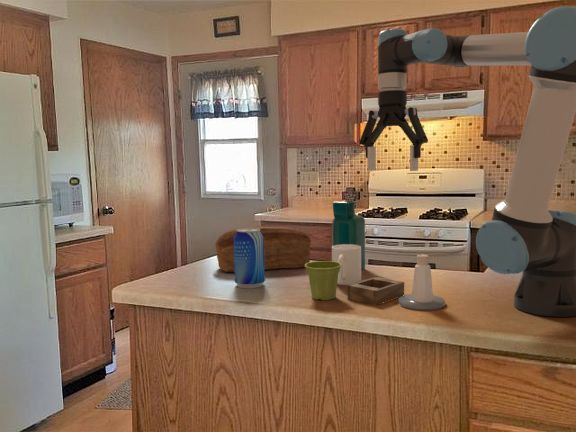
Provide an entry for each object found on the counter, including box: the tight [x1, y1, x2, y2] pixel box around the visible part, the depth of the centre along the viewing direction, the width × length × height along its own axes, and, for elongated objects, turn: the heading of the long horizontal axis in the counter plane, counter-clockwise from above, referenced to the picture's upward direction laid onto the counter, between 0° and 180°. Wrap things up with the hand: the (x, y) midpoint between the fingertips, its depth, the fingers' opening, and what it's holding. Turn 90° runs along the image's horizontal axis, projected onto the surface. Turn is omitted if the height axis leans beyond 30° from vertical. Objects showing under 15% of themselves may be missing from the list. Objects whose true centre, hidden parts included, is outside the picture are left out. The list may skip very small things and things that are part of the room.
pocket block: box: [347, 276, 405, 306], centre depth 140 cm, size 9×12×4 cm
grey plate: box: [398, 293, 446, 311], centre depth 133 cm, size 11×11×1 cm
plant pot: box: [304, 260, 342, 301], centre depth 141 cm, size 9×9×9 cm
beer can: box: [234, 227, 266, 290], centre depth 154 cm, size 8×8×16 cm
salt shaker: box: [411, 254, 434, 303], centre depth 133 cm, size 5×5×11 cm
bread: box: [215, 225, 312, 273], centre depth 178 cm, size 12×31×14 cm, turn 104°
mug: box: [331, 244, 362, 286], centre depth 155 cm, size 12×8×10 cm
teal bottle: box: [332, 200, 366, 272], centre depth 171 cm, size 10×8×22 cm
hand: (392, 170), depth 149 cm, fingers open, 13 cm apart
